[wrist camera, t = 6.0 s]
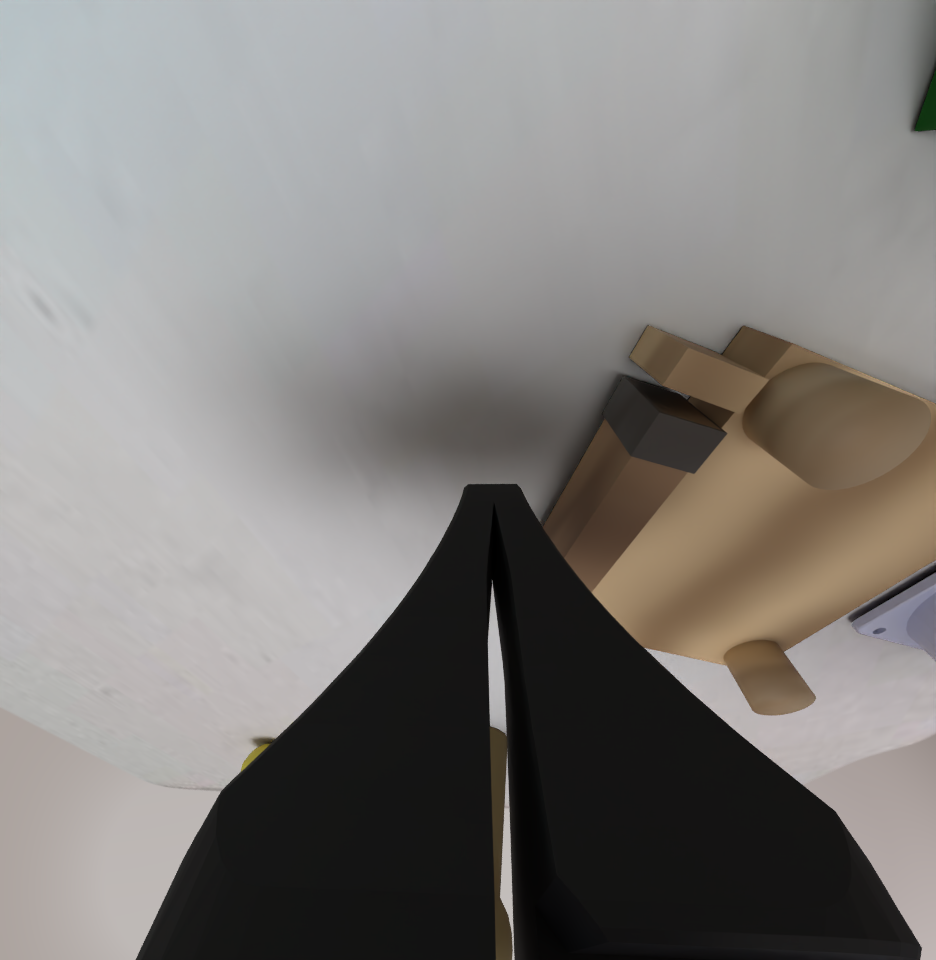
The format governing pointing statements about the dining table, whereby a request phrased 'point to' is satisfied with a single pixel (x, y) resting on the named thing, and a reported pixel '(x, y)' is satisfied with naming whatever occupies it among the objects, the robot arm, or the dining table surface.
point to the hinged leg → (628, 475)
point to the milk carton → (928, 109)
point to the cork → (499, 839)
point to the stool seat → (776, 510)
